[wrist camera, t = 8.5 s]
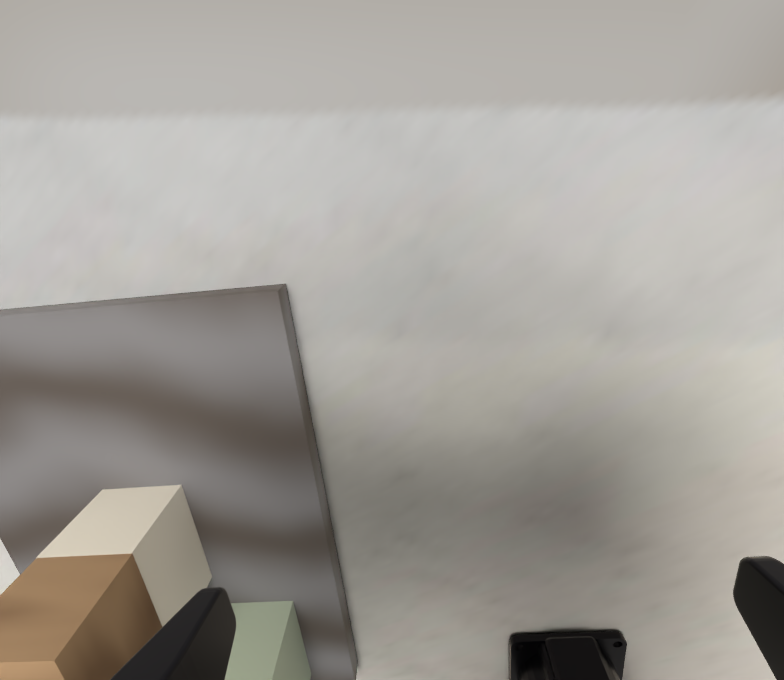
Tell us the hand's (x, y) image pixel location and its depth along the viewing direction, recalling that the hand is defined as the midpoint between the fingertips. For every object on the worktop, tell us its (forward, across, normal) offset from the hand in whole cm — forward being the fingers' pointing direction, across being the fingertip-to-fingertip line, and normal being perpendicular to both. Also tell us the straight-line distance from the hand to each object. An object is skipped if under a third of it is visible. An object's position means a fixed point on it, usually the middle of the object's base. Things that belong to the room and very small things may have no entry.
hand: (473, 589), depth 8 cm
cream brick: (+11, +15, +9) cm, 20 cm away
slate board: (+12, +15, +9) cm, 21 cm away
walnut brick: (+7, +15, +9) cm, 18 cm away
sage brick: (+11, +11, +17) cm, 23 cm away
